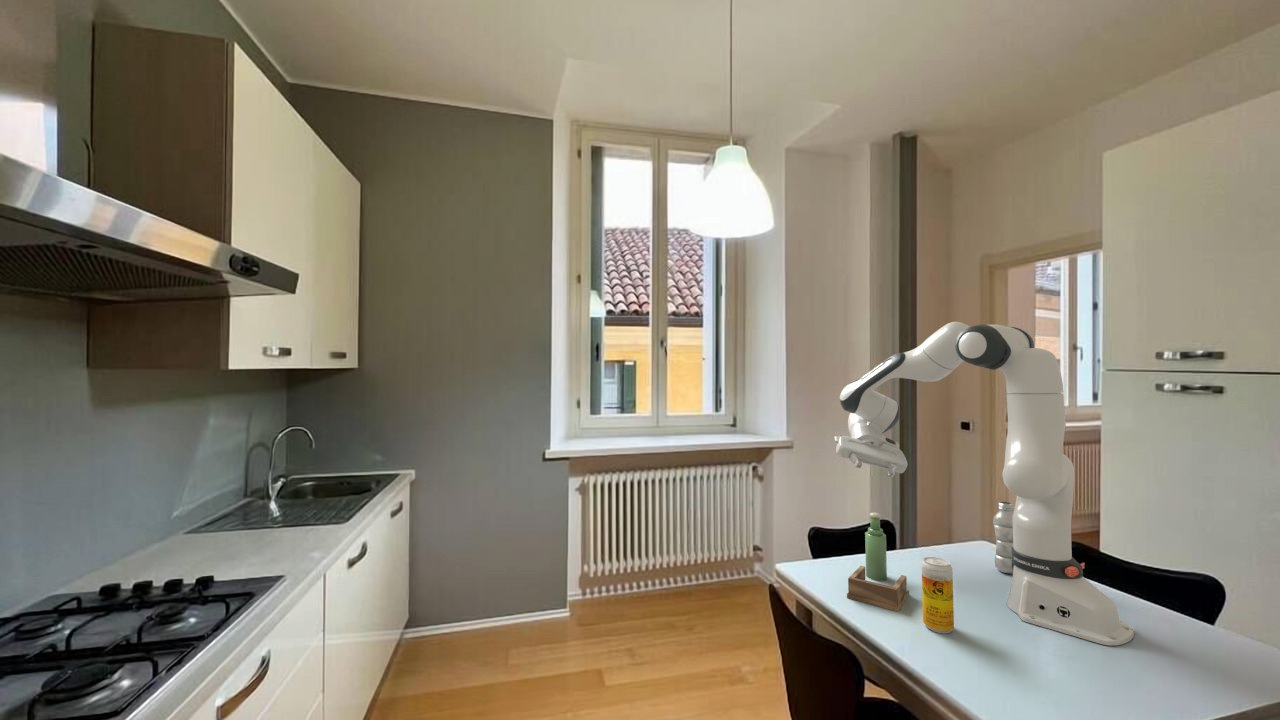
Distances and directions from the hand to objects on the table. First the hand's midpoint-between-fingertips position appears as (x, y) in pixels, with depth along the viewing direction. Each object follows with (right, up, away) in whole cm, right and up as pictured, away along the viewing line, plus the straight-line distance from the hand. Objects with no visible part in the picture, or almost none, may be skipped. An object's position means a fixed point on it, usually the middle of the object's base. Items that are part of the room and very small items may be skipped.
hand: (874, 470), depth 146 cm
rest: (-7, -29, -16) cm, 34 cm away
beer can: (-1, -29, -32) cm, 43 cm away
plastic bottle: (+38, -29, -2) cm, 48 cm away
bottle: (-1, -30, -4) cm, 30 cm away
